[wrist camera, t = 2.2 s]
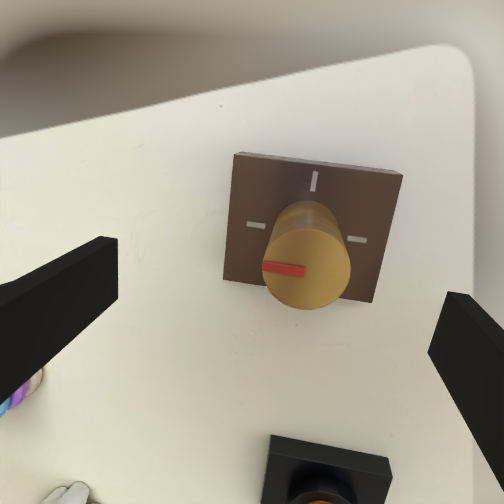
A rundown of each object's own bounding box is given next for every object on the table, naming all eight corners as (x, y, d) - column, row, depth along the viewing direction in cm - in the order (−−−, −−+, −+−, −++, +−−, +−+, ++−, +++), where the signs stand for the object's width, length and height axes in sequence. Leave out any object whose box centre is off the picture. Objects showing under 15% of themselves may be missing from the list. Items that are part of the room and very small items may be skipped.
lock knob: (343, 205, 26) (360, 236, 18) (331, 266, 28) (342, 319, 20) (278, 196, 27) (266, 223, 19) (270, 256, 28) (256, 305, 21)
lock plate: (393, 170, 28) (404, 175, 25) (366, 287, 31) (372, 304, 28) (240, 151, 29) (233, 154, 26) (229, 266, 32) (222, 280, 29)
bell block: (388, 457, 37) (397, 494, 33) (367, 525, 40) (373, 566, 36) (271, 434, 38) (267, 467, 34) (260, 501, 41) (255, 539, 37)
